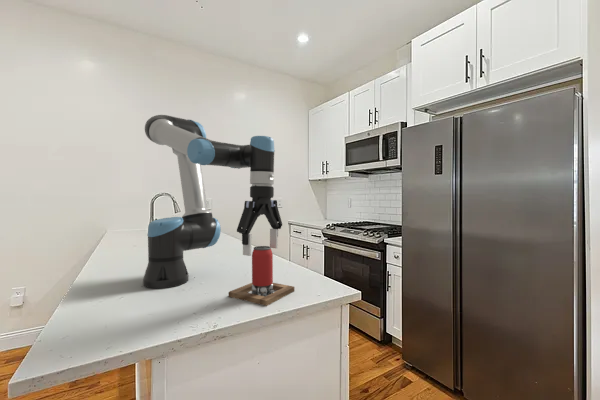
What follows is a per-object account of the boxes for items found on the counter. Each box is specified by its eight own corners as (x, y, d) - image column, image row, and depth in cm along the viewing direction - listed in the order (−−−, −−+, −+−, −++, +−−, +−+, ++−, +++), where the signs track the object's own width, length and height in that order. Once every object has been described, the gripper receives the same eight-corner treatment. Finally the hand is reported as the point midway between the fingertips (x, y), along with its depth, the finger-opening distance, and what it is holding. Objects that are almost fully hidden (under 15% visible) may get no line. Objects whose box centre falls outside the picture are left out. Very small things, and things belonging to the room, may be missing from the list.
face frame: (228, 296, 93) (228, 291, 93) (258, 284, 106) (258, 279, 106) (266, 305, 85) (266, 300, 85) (294, 291, 98) (294, 286, 98)
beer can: (275, 282, 98) (275, 246, 98) (269, 288, 91) (269, 249, 91) (256, 281, 99) (256, 245, 99) (249, 287, 93) (248, 249, 92)
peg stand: (250, 294, 94) (250, 285, 94) (261, 290, 99) (261, 281, 99) (263, 297, 92) (263, 288, 92) (274, 292, 96) (274, 283, 96)
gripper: (244, 184, 82) (243, 260, 83) (292, 186, 103) (291, 246, 104) (224, 184, 86) (224, 257, 87) (275, 186, 107) (274, 244, 108)
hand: (261, 251), depth 95 cm, fingers open, 13 cm apart
